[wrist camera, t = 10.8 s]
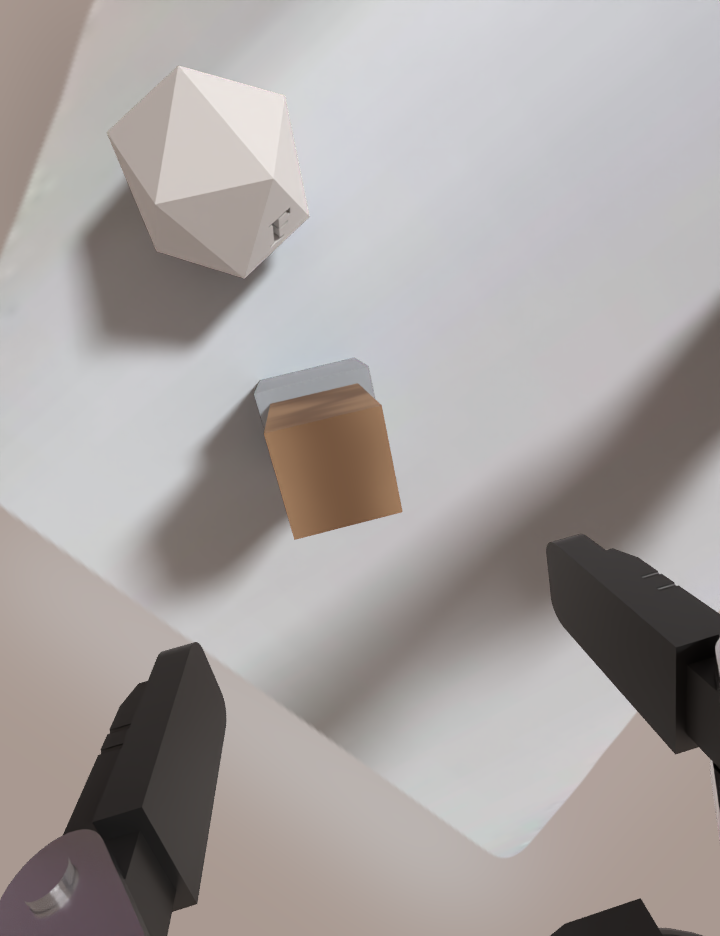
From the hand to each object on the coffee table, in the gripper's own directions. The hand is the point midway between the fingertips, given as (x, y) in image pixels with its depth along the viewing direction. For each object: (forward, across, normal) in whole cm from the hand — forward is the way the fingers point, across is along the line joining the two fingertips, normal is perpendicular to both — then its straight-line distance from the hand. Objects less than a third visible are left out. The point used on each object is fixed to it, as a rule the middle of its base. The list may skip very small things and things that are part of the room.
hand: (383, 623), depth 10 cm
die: (+23, +2, -14) cm, 27 cm away
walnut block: (+17, 0, 0) cm, 17 cm away
